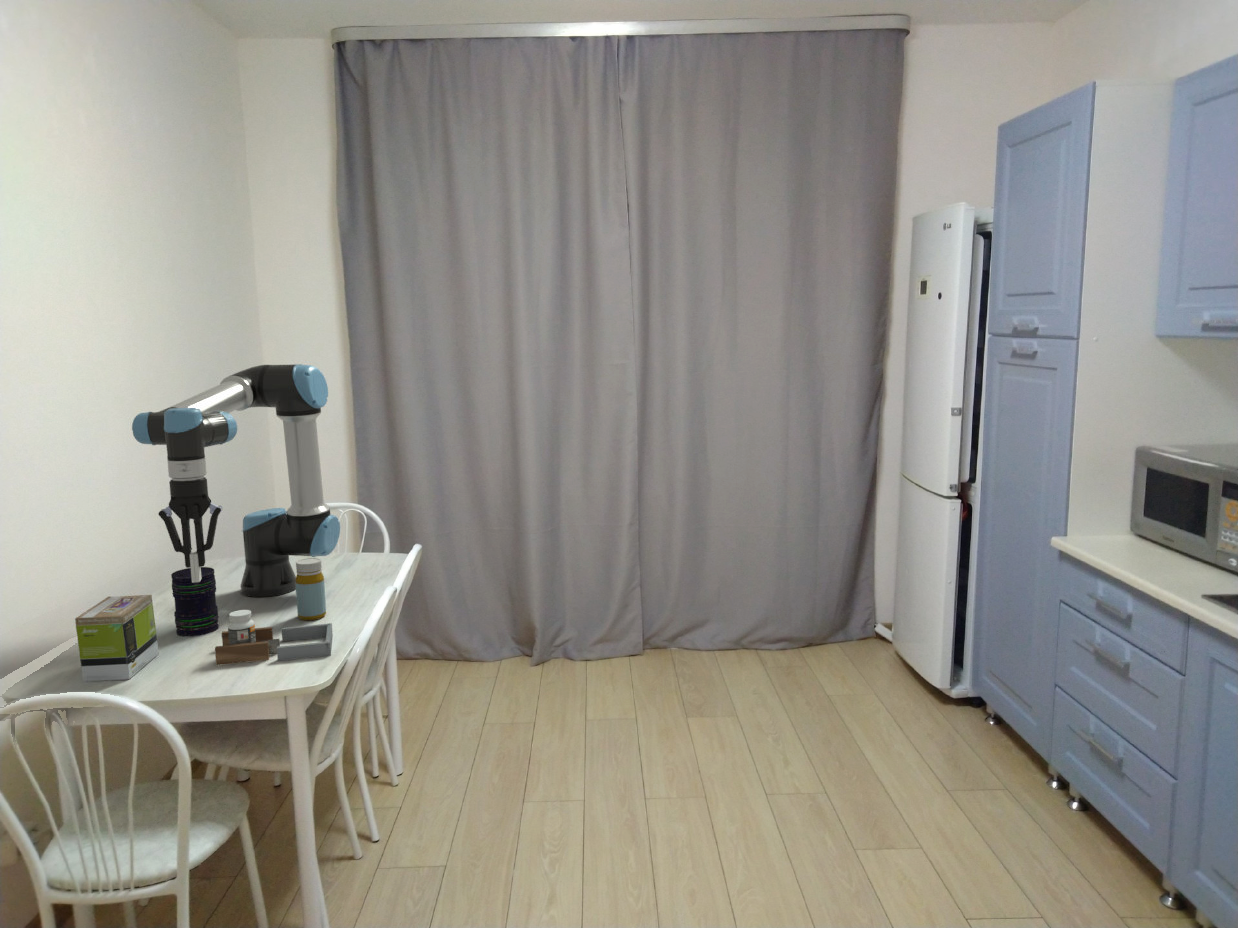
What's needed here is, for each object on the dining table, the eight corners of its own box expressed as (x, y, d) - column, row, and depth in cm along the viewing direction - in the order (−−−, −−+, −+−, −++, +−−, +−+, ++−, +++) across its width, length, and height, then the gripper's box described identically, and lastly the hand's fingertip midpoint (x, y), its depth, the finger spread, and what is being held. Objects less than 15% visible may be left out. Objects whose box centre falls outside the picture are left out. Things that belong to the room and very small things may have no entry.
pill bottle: (259, 655, 202) (255, 613, 201) (232, 660, 199) (229, 618, 198) (254, 647, 207) (251, 607, 205) (228, 652, 204) (224, 611, 202)
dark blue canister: (211, 620, 226) (206, 564, 224) (225, 629, 219) (221, 572, 217) (170, 630, 219) (164, 572, 217) (183, 639, 212) (178, 580, 210)
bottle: (317, 621, 225) (313, 565, 222) (292, 620, 226) (288, 563, 224) (331, 613, 231) (327, 558, 229) (307, 611, 233) (303, 556, 230)
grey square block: (261, 650, 206) (261, 640, 205) (280, 648, 207) (279, 638, 206) (260, 656, 202) (259, 646, 201) (278, 654, 203) (278, 644, 203)
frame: (282, 639, 212) (281, 627, 211) (332, 634, 215) (331, 623, 215) (277, 660, 199) (276, 648, 198) (330, 655, 202) (330, 642, 201)
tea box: (114, 656, 202) (108, 594, 200) (160, 654, 203) (154, 593, 201) (80, 682, 187) (73, 616, 185) (129, 680, 188) (123, 614, 186)
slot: (223, 647, 207) (222, 631, 206) (273, 642, 210) (272, 626, 209) (216, 665, 196) (214, 648, 196) (268, 659, 199) (267, 642, 199)
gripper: (151, 482, 189) (161, 587, 192) (217, 479, 192) (225, 582, 196) (158, 476, 196) (168, 578, 199) (222, 473, 199) (230, 573, 203)
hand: (196, 580), depth 198 cm, fingers closed
